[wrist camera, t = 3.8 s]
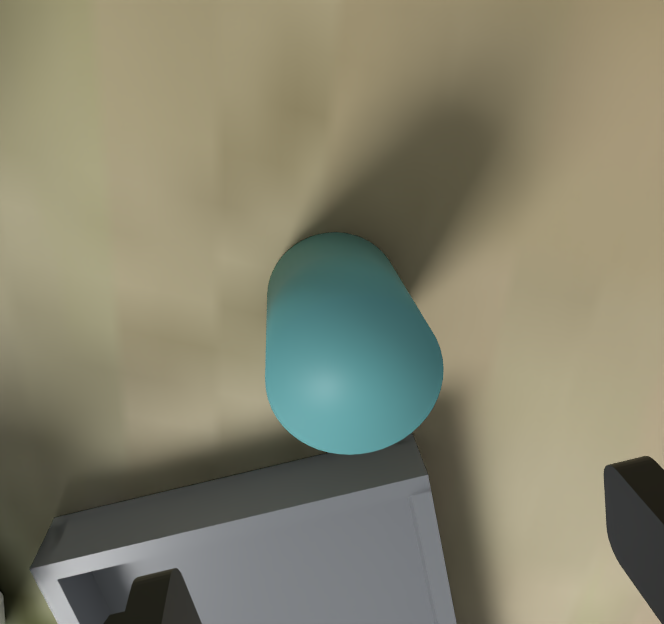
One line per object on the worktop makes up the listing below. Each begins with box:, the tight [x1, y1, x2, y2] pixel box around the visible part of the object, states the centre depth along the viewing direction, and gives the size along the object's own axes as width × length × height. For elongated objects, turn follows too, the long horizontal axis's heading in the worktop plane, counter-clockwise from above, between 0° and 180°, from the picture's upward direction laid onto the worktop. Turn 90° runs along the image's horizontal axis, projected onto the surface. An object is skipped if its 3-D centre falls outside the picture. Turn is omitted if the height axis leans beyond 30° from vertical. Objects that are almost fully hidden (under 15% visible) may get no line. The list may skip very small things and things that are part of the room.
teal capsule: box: [265, 232, 443, 455], centre depth 21 cm, size 5×5×7 cm
